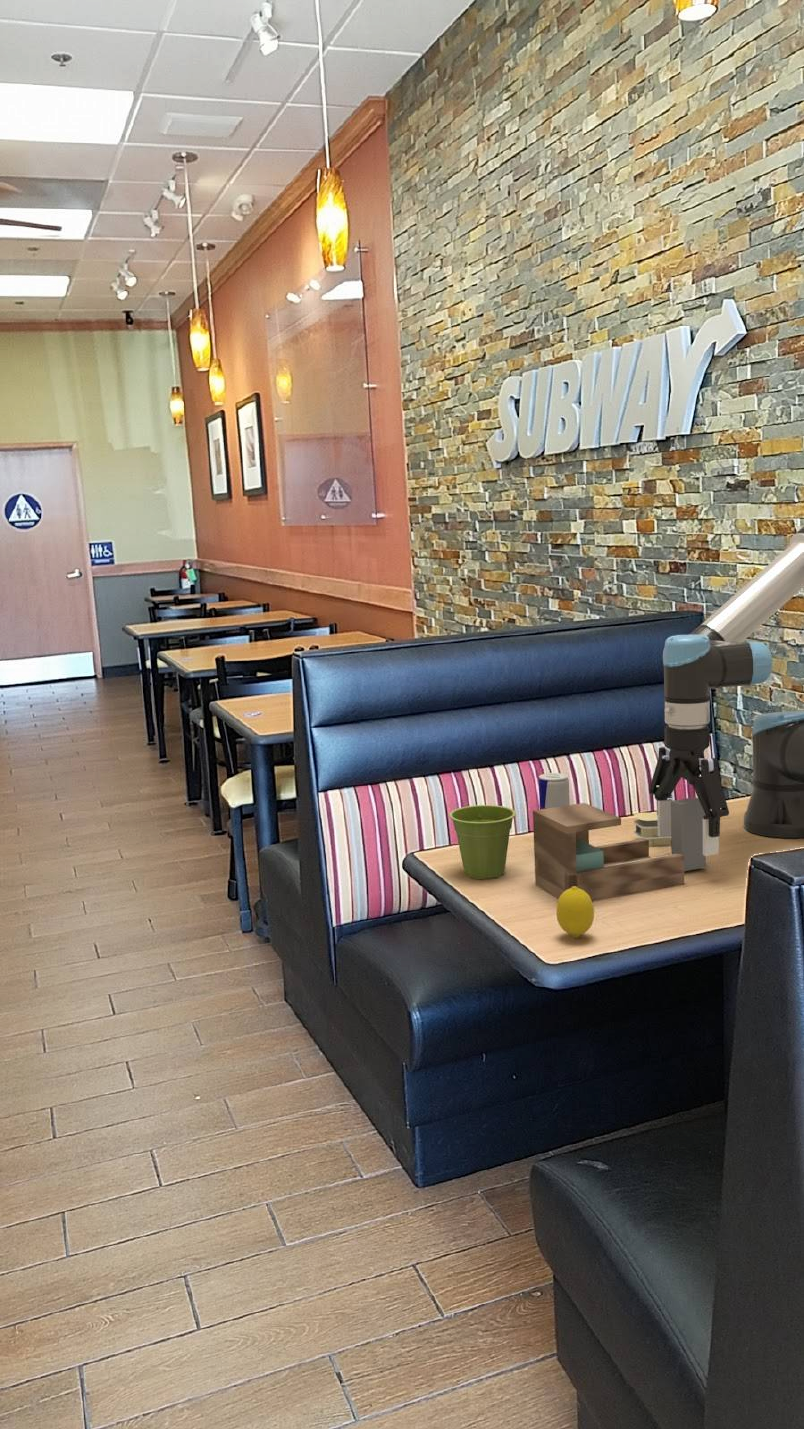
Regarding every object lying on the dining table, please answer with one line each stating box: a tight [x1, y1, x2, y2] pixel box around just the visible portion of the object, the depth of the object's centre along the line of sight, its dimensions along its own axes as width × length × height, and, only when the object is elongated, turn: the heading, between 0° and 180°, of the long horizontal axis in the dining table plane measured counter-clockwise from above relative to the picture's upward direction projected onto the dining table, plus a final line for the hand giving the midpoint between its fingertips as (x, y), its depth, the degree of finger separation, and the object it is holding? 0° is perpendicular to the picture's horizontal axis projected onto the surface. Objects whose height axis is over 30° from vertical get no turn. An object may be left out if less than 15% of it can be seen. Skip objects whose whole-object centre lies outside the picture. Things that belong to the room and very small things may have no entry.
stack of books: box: [633, 812, 671, 848], centre depth 211 cm, size 10×9×6 cm
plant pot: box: [448, 804, 517, 880], centre depth 197 cm, size 12×12×11 cm
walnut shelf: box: [532, 802, 685, 902], centre depth 187 cm, size 22×12×13 cm, turn 110°
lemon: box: [556, 886, 595, 939], centre depth 164 cm, size 6×6×8 cm
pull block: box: [576, 796, 707, 872], centre depth 189 cm, size 28×7×12 cm, turn 110°
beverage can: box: [538, 772, 571, 810], centre depth 207 cm, size 6×6×15 cm
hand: (687, 844), depth 193 cm, fingers open, 13 cm apart
